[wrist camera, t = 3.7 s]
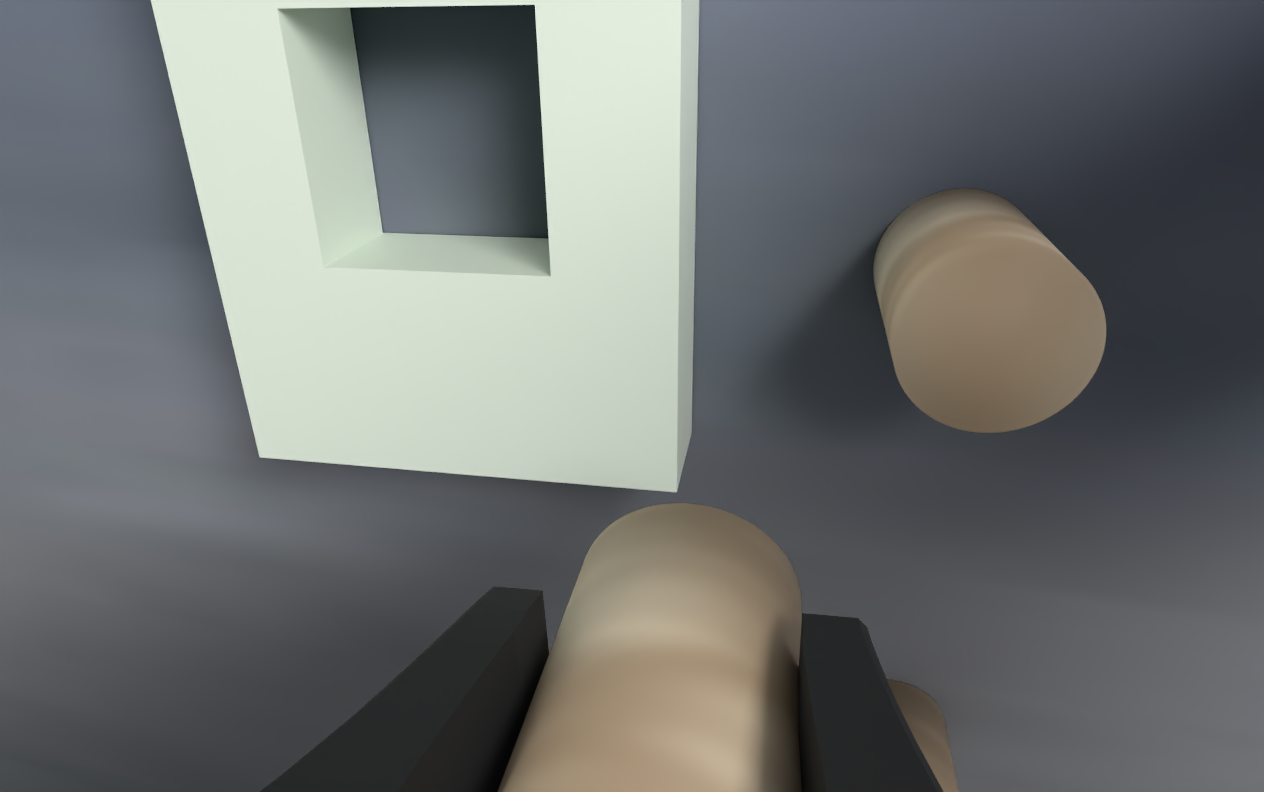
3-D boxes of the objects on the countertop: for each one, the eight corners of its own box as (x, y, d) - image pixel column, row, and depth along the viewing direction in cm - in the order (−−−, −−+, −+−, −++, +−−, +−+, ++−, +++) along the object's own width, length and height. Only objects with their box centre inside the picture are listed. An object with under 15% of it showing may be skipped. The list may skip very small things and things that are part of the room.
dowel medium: (832, 541, 11) (862, 1013, 6) (763, 706, 12) (739, 1198, 7) (605, 475, 11) (443, 877, 6) (562, 645, 12) (405, 1084, 7)
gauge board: (704, -306, 13) (684, -365, 11) (691, 432, 19) (676, 492, 16) (187, -265, 15) (76, -312, 12) (319, 405, 20) (259, 457, 18)
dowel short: (1053, 190, 15) (1128, 250, 12) (1022, 343, 17) (1082, 439, 13) (882, 186, 16) (904, 243, 12) (865, 335, 17) (881, 426, 14)
